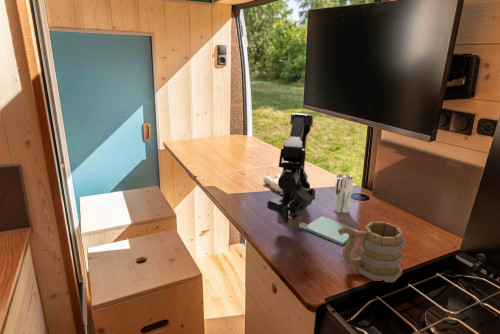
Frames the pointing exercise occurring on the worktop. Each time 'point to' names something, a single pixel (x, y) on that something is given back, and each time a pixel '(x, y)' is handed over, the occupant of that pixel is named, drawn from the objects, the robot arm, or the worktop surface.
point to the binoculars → (273, 182)
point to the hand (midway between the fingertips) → (289, 220)
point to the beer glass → (343, 192)
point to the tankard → (376, 250)
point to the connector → (292, 221)
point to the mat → (328, 230)
